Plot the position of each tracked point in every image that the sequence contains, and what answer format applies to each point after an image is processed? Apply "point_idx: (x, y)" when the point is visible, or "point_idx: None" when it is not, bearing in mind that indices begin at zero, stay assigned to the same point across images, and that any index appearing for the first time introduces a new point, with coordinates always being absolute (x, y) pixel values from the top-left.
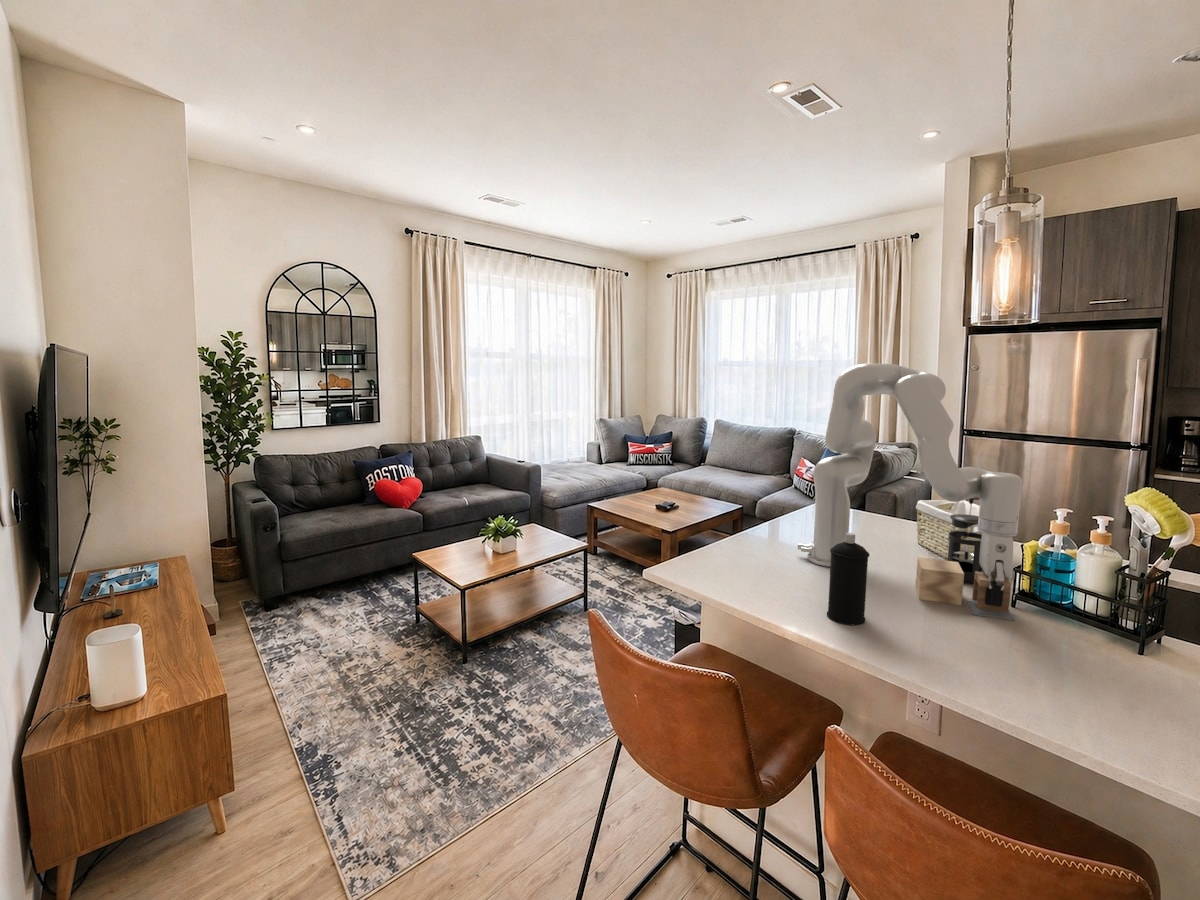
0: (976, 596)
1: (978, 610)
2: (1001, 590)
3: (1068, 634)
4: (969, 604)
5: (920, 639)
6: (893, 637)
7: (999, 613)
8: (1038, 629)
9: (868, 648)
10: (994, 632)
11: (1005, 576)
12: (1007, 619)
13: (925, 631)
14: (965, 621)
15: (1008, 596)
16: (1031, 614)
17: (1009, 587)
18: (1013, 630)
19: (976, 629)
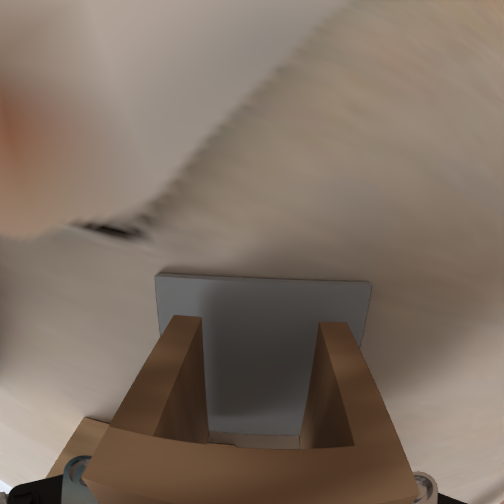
0: (204, 441)
1: (297, 415)
2: (421, 480)
3: (447, 67)
4: (228, 430)
5: (486, 477)
6: (471, 500)
7: (305, 341)
8: (443, 189)
9: (493, 500)
10: (482, 372)
11: (141, 499)
12: (362, 313)
13: (458, 483)
14: (403, 442)
15: (376, 402)
16: (217, 151)
17: (400, 466)
18: (470, 309)
19: (460, 415)
